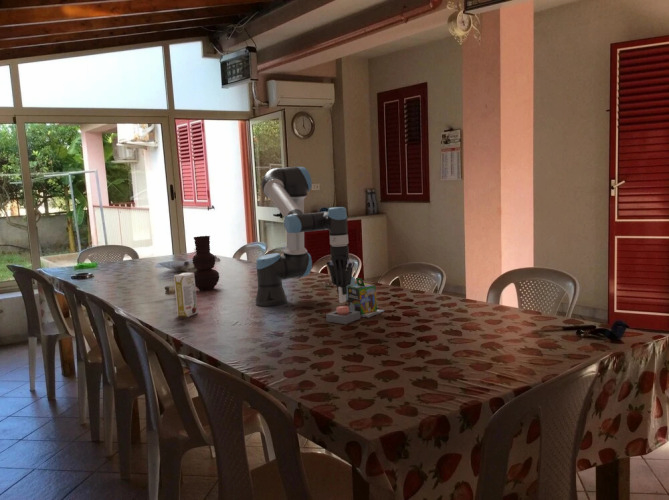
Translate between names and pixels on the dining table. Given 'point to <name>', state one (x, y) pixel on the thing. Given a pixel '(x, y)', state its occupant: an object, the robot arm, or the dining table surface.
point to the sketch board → (372, 313)
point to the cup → (350, 285)
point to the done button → (342, 310)
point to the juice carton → (185, 294)
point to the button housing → (343, 317)
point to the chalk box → (362, 297)
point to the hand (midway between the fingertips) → (342, 302)
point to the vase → (204, 265)
